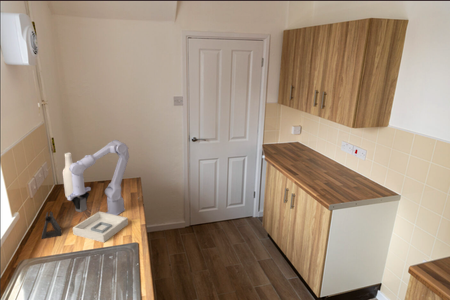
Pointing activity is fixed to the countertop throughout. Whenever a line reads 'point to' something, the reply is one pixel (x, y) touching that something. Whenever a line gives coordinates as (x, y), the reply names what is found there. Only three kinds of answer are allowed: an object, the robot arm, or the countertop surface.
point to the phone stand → (55, 225)
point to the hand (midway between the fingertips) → (81, 207)
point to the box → (100, 226)
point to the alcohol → (68, 175)
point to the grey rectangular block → (82, 205)
